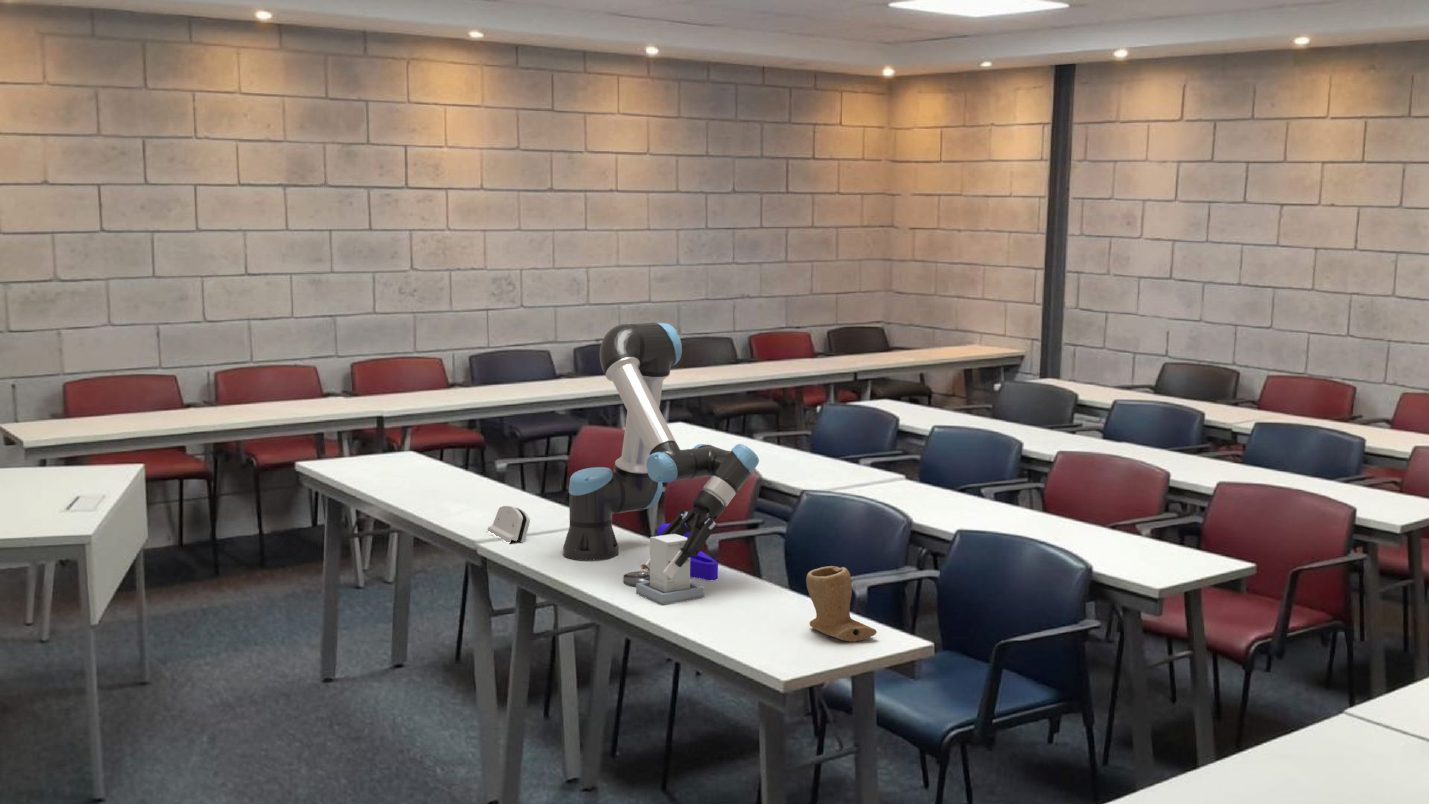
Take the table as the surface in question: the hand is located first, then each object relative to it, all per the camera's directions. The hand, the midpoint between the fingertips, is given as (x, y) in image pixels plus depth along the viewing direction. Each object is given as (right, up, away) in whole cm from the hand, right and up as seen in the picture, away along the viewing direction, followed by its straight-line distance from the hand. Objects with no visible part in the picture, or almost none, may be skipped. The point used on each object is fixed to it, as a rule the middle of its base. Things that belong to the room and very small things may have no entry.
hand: (658, 571), depth 312 cm
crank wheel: (-4, -5, +15) cm, 16 cm away
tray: (+3, -6, +3) cm, 7 cm away
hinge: (-46, +2, +61) cm, 77 cm away
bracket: (+8, -4, +25) cm, 26 cm away
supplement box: (+3, -5, +3) cm, 6 cm away
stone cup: (+41, -11, -27) cm, 50 cm away
